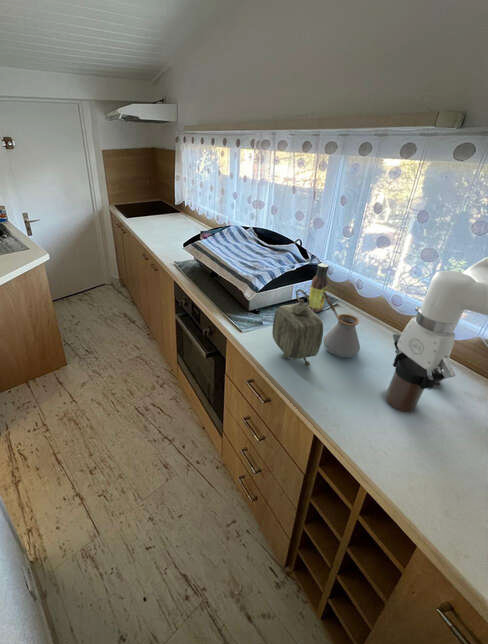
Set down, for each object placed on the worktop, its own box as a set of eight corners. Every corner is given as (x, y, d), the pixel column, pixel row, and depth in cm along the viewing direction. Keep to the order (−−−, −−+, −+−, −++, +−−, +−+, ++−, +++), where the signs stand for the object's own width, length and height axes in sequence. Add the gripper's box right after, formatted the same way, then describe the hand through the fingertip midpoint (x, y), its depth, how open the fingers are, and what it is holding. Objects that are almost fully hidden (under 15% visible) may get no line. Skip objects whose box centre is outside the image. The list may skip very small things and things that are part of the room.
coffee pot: (365, 359, 101) (378, 321, 94) (333, 363, 100) (343, 325, 93) (329, 323, 120) (337, 289, 113) (302, 325, 118) (308, 292, 111)
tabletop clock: (314, 368, 97) (331, 301, 86) (289, 373, 96) (302, 305, 84) (291, 341, 110) (302, 279, 98) (268, 345, 108) (277, 282, 96)
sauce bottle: (322, 313, 126) (332, 269, 116) (306, 311, 128) (315, 267, 118) (322, 305, 131) (331, 263, 122) (306, 303, 133) (315, 261, 124)
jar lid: (399, 382, 79) (403, 373, 77) (391, 362, 85) (394, 354, 84) (434, 388, 77) (438, 379, 75) (422, 367, 83) (426, 359, 82)
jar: (409, 394, 88) (425, 361, 82) (419, 414, 82) (436, 380, 76) (381, 389, 90) (395, 356, 84) (389, 408, 84) (403, 374, 78)
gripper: (392, 305, 80) (374, 357, 88) (460, 346, 65) (429, 404, 73) (416, 301, 81) (395, 353, 89) (487, 340, 66) (454, 398, 74)
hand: (411, 375), depth 81 cm, fingers closed on jar lid, 7 cm apart
